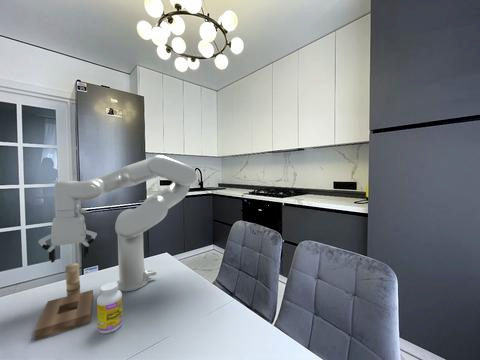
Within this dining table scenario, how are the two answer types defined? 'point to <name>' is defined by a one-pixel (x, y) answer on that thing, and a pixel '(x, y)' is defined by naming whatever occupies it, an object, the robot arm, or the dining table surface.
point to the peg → (72, 279)
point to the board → (65, 314)
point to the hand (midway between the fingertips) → (70, 258)
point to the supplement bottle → (109, 308)
